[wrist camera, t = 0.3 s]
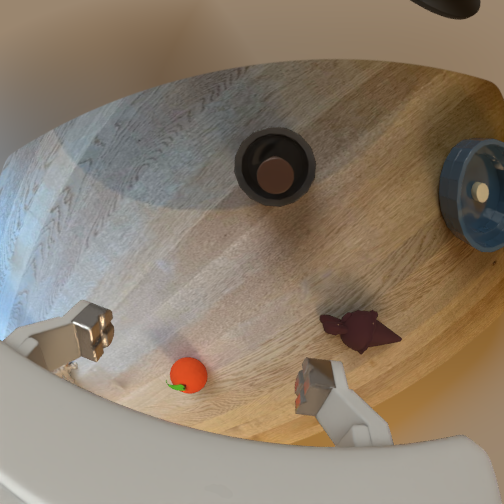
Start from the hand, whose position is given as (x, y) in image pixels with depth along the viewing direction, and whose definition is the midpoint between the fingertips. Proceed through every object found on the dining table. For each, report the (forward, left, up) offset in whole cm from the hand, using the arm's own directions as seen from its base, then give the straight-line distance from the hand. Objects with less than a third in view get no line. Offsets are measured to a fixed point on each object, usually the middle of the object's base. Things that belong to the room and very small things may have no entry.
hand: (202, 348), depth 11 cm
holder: (-4, +4, -30) cm, 31 cm away
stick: (-4, +4, -30) cm, 30 cm away
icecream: (+24, +10, -31) cm, 40 cm away
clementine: (+25, -22, -31) cm, 45 cm away
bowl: (+8, +36, -30) cm, 48 cm away
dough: (+8, +36, -30) cm, 48 cm away
